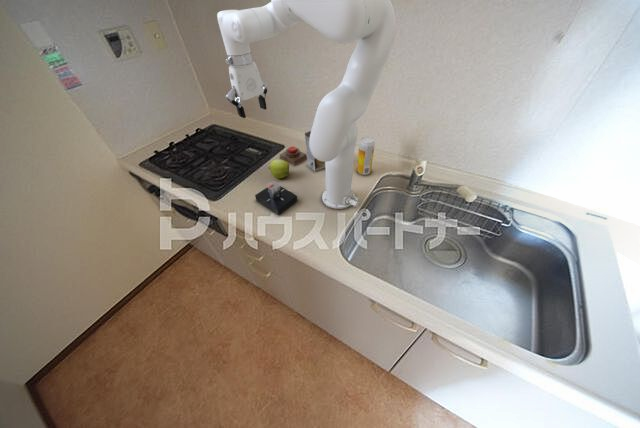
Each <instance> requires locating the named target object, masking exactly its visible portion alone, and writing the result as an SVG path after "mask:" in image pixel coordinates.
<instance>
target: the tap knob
mask: <svg viewBox="0 0 640 428" xmlns="http://www.w3.org/2000/svg"><path fill="white" fill-rule="evenodd" d="M280 186H281V185H280V183H279V182H278V181H276V180H273V181H270V182H268V183H267V185H266V188H267V187H268V190H269V194H270V197H271V198H272V199H277V198H280V197H281V190H280Z"/></svg>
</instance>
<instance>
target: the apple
mask: <svg viewBox="0 0 640 428" xmlns="http://www.w3.org/2000/svg"><path fill="white" fill-rule="evenodd" d="M268 170H270V173H271V175H272V177H273V178H275V179H283V178H286V177H287V176H289V174H290V163H289V162H286V161H284V160H282V159H280V158H277V159H273V160H272V161H271V162H270V164H269V167H268Z"/></svg>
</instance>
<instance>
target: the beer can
mask: <svg viewBox="0 0 640 428" xmlns="http://www.w3.org/2000/svg"><path fill="white" fill-rule="evenodd" d="M375 144H376V142H375V139H374V138H373V137H372V136H371V137H370V136H363V137H361V138H360V140H359V142H358V155H357V166H356V167H357V168H356V171H357V173H358V174H359V175H361V176H367V175H369V174H370V173H371V172H372V168H373V160H374V151H375Z"/></svg>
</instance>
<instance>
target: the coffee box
mask: <svg viewBox="0 0 640 428" xmlns="http://www.w3.org/2000/svg"><path fill="white" fill-rule="evenodd" d="M310 134H311V130H309V131H307V132H305V133H304V137H305V138H304V139H305V148H306V149H305V150H306V157H307V158H306V159H307V166H308V167H309V168H310V169H311V170H313V172H314V173H315V172H318V171H320V170H322V169H325V162H323V161H319V160H317V159H316V158H315V157H314V156H313V155H312V153H311V151H310V147H309V138H310Z"/></svg>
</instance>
